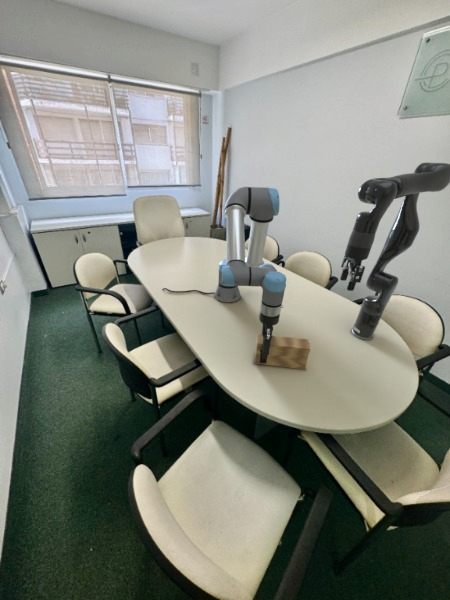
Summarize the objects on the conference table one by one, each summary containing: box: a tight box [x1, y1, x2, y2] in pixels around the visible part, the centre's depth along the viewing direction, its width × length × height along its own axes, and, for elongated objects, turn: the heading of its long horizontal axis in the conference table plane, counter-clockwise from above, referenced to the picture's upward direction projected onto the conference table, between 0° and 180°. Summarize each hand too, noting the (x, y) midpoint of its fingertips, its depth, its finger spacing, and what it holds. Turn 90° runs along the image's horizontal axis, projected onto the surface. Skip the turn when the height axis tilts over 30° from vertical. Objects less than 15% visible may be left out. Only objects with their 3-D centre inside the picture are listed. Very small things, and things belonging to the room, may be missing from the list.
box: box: [253, 333, 311, 370], centre depth 100 cm, size 21×6×11 cm, turn 83°
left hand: (262, 356), depth 103 cm, fingers closed on box, 6 cm apart
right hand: (346, 285), depth 92 cm, fingers open, 8 cm apart
